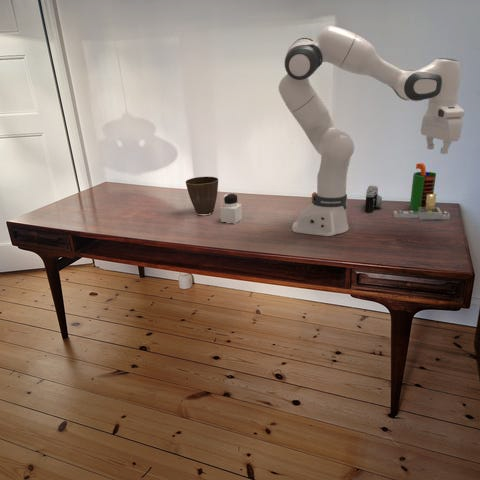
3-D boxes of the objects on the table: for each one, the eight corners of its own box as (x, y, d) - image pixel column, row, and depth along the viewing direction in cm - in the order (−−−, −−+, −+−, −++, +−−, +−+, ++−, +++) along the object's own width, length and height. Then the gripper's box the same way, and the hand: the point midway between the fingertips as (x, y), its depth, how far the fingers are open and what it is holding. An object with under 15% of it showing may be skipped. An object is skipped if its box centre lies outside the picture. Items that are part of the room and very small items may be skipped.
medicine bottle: (242, 219, 188) (241, 193, 183) (235, 224, 182) (233, 197, 177) (228, 218, 190) (226, 192, 186) (220, 222, 185) (218, 196, 180)
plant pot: (201, 220, 189) (198, 185, 183) (182, 214, 199) (179, 181, 194) (227, 212, 198) (224, 179, 192) (207, 207, 208) (205, 175, 202)
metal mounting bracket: (394, 219, 177) (394, 211, 176) (393, 213, 184) (393, 206, 183) (450, 221, 171) (451, 213, 170) (447, 215, 178) (448, 207, 177)
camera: (380, 213, 185) (381, 191, 181) (364, 212, 187) (365, 190, 184) (381, 204, 198) (383, 183, 194) (366, 203, 200) (367, 182, 197)
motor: (427, 213, 182) (433, 167, 175) (406, 210, 187) (410, 165, 180) (434, 207, 189) (439, 162, 182) (413, 204, 195) (417, 161, 187)
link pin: (425, 216, 175) (427, 195, 172) (424, 214, 179) (426, 193, 176) (434, 216, 175) (436, 195, 172) (433, 214, 178) (435, 193, 175)
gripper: (418, 108, 152) (414, 147, 157) (448, 112, 133) (443, 156, 138) (435, 107, 153) (431, 146, 158) (467, 111, 134) (461, 155, 139)
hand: (436, 151), depth 148 cm, fingers open, 8 cm apart
